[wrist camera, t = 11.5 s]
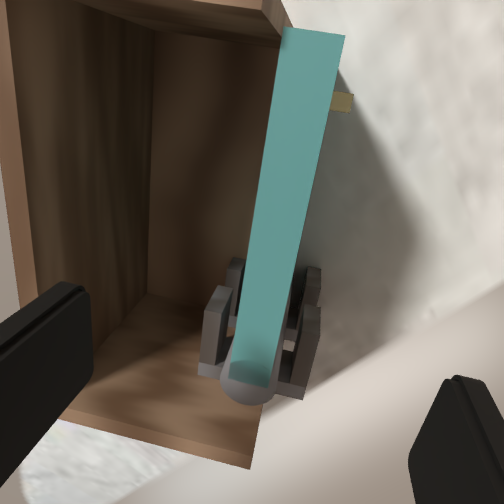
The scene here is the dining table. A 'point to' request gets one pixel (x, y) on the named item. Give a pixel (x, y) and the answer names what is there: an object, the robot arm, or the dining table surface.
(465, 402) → the robot arm
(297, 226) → the door
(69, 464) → the dining table surface
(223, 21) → the cabinet
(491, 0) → the dining table surface
